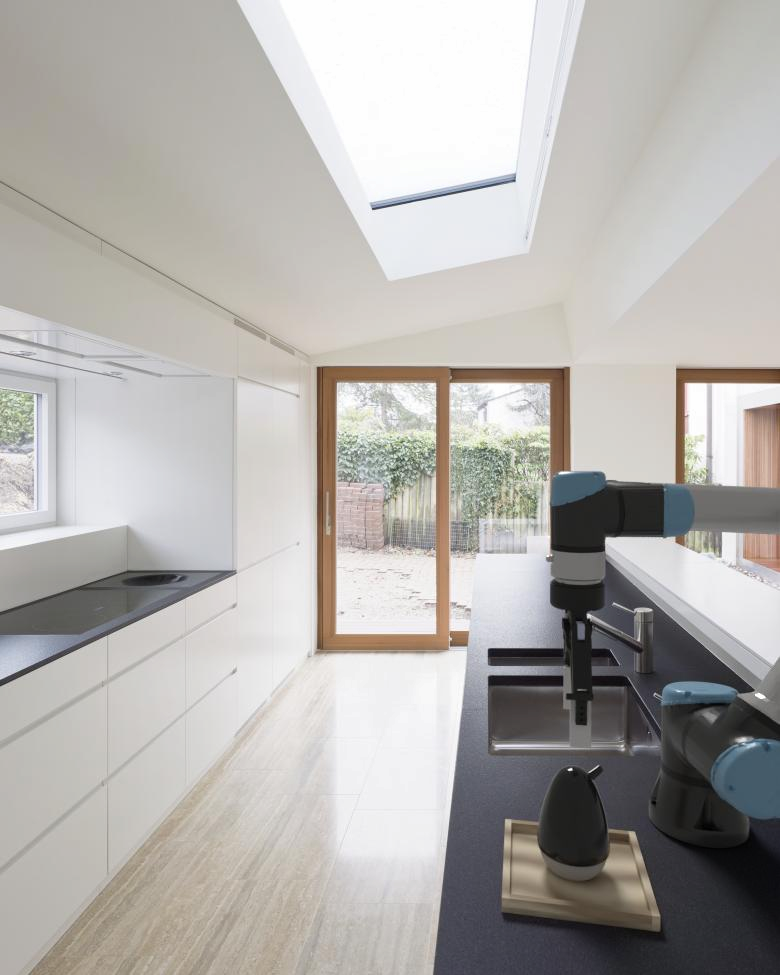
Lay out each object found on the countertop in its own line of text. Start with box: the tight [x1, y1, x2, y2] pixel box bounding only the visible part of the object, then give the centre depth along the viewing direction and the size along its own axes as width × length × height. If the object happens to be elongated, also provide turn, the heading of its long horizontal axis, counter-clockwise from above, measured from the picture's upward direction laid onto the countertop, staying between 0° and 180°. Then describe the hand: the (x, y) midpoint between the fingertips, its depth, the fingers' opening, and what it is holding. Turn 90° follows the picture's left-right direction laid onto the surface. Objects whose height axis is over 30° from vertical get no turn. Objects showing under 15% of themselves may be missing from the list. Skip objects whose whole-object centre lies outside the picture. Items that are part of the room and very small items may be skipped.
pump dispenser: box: [537, 764, 610, 881], centre depth 98 cm, size 10×10×15 cm
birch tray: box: [501, 818, 661, 933], centre depth 98 cm, size 20×20×2 cm
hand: (576, 726), depth 97 cm, fingers open, 13 cm apart
